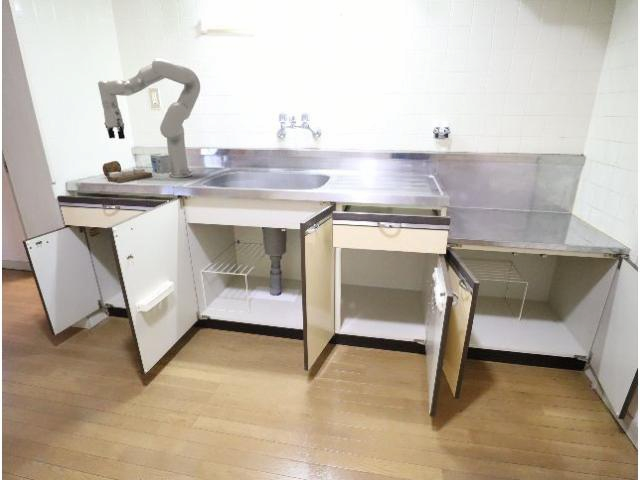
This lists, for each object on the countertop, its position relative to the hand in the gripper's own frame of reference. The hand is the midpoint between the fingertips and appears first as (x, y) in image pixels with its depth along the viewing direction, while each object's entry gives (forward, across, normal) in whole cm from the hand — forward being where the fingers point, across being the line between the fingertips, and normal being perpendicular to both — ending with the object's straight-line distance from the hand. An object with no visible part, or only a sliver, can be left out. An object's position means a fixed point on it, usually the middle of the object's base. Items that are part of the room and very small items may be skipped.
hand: (117, 138), depth 202 cm
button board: (+22, -8, +2) cm, 23 cm away
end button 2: (+21, -6, -6) cm, 22 cm away
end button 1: (+20, -6, +8) cm, 23 cm away
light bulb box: (+22, -3, -23) cm, 32 cm away
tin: (+22, +10, +1) cm, 24 cm away
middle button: (+21, -6, +1) cm, 21 cm away
